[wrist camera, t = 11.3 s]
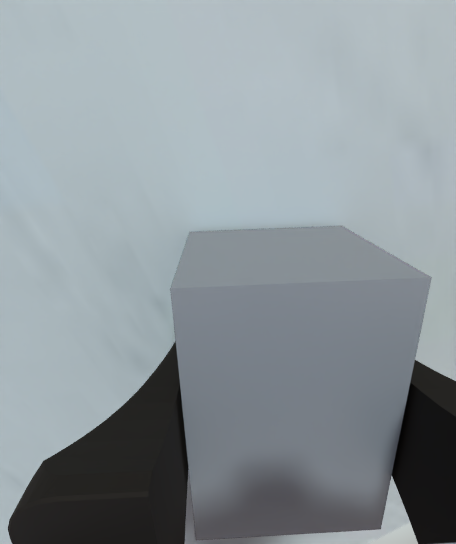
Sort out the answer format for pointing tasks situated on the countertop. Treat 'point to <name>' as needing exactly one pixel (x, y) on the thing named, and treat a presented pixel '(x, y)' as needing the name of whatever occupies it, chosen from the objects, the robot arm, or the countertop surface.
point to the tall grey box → (292, 377)
